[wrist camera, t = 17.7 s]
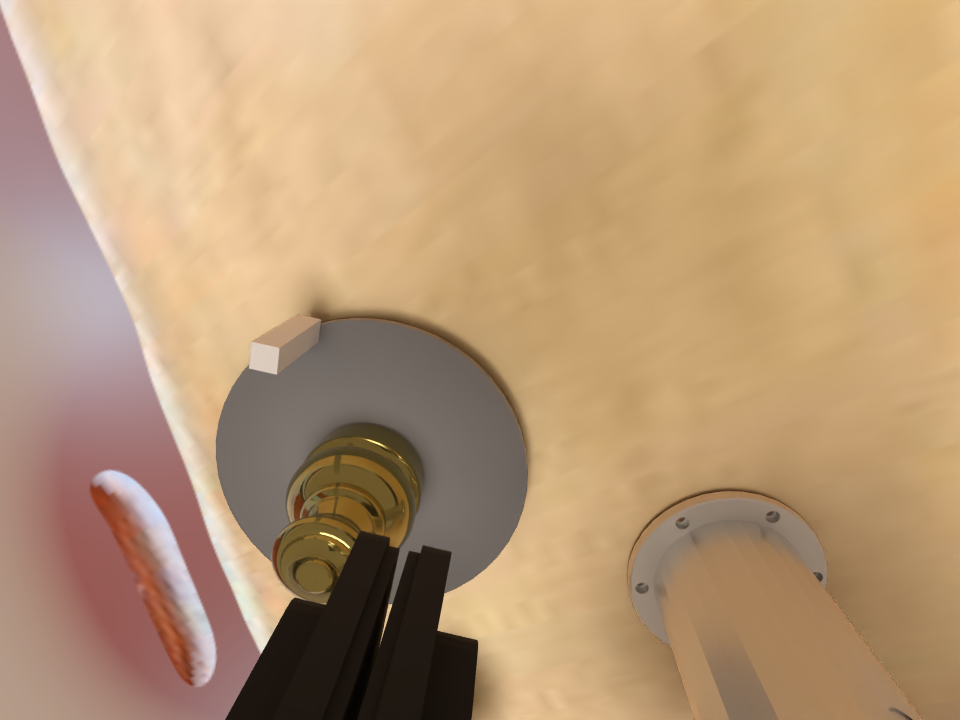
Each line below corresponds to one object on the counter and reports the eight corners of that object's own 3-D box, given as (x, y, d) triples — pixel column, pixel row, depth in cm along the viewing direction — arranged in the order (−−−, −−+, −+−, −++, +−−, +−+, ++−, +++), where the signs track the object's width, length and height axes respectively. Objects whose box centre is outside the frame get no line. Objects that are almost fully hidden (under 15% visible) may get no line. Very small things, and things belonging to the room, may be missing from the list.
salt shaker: (303, 420, 35) (223, 509, 26) (422, 419, 35) (384, 510, 25) (318, 523, 37) (248, 640, 28) (430, 524, 37) (398, 644, 27)
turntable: (561, 358, 34) (571, 400, 27) (490, 623, 40) (484, 708, 33) (233, 285, 34) (165, 309, 27) (212, 560, 40) (153, 634, 33)
